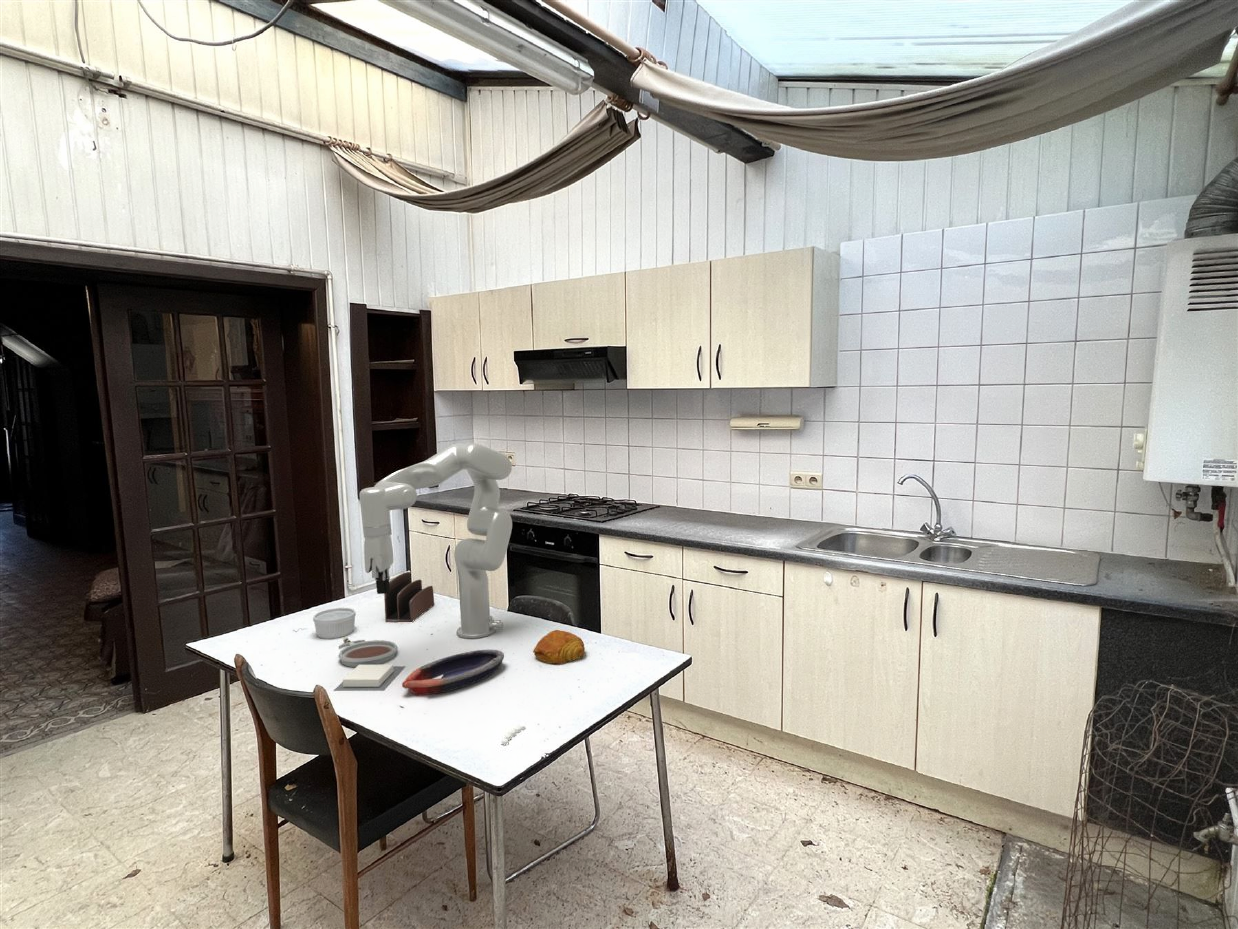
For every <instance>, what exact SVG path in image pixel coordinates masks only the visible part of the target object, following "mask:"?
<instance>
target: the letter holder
mask: <svg viewBox="0 0 1238 929" xmlns="http://www.w3.org/2000/svg"><path fill="white" fill-rule="evenodd" d="M411 579H412V578H411V572H410V571H407V572H403V573H400V574H398V575H397V576H396V577H394V578H393V579H392V580H389V585H390V592H388V593H387V594H383V596H384V614H385V615H384V618H385V623H398V622H412V621H413V620H414V619H416V618H417V617H418V618H420V617H421V616H422V615H423V614H425V613H426V612H428V609H429V608H430V607H431V606H433V605H434V606H435V595H434V586H432V585H430V586H429V585H428V586H426V587H423V584H422V582H423V581H422V579H417V580H414V581H412V582H411ZM434 606H433V607H434ZM431 608H432V607H431ZM431 608H430V609H431ZM430 609H429V610H430ZM425 611H426V612H425ZM424 612H425V613H424ZM422 613H423V614H422ZM421 614H422V615H421ZM420 615H421V616H420ZM419 616H420V617H419ZM418 618H417V619H418ZM417 619H416V620H417ZM414 621H415V620H414ZM414 621H413V622H414ZM413 622H412V623H413Z"/></svg>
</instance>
